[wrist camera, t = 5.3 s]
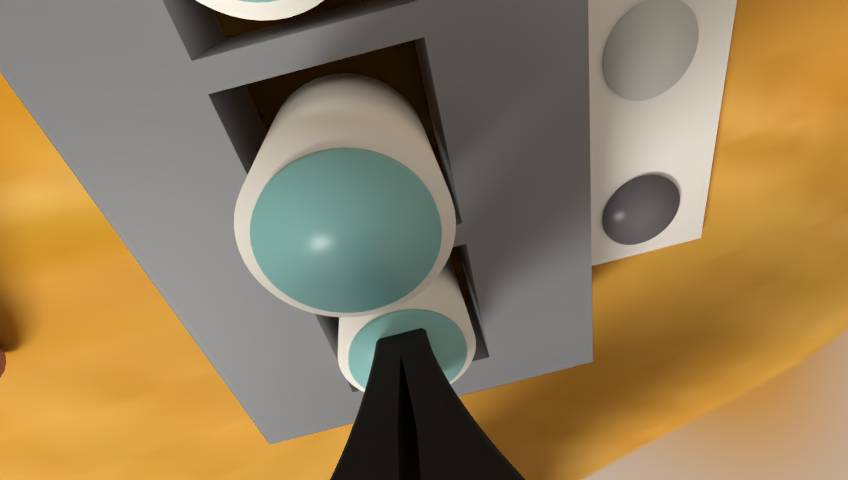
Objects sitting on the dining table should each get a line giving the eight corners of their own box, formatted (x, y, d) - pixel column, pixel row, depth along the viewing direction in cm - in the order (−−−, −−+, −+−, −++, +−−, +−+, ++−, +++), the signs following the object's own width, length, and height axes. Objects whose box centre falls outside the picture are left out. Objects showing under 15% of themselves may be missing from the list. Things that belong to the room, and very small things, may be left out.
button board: (560, 306, 19) (592, 362, 16) (280, 378, 19) (269, 444, 16) (510, -452, 8) (579, -629, 6) (-121, -278, 8) (-324, -377, 6)
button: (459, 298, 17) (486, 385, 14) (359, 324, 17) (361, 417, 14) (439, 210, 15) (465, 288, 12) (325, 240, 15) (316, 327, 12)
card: (695, 233, 18) (702, 239, 17) (570, 266, 18) (575, 272, 17) (781, -362, 9) (798, -374, 9) (544, -299, 9) (552, -308, 9)
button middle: (440, 200, 13) (473, 295, 9) (303, 236, 13) (284, 344, 9) (407, 54, 11) (433, 105, 7) (241, 97, 11) (186, 170, 7)
